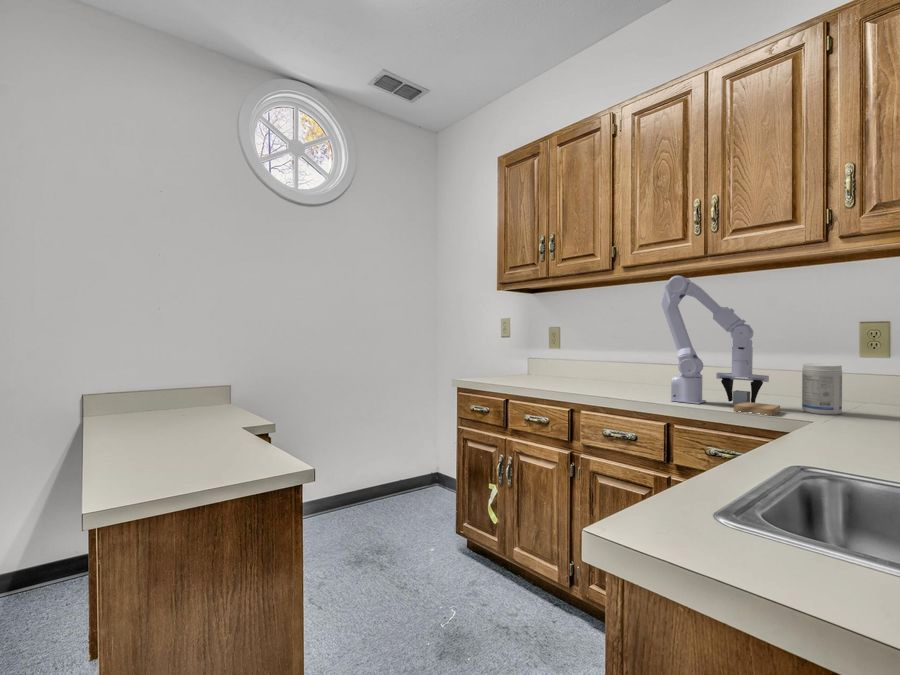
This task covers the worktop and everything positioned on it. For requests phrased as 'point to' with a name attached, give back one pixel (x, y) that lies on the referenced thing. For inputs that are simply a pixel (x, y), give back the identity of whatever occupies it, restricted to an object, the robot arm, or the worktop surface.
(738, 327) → the robot arm
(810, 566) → the worktop surface
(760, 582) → the worktop surface
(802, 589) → the worktop surface
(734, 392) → the block
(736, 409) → the slab
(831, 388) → the supplement tub
